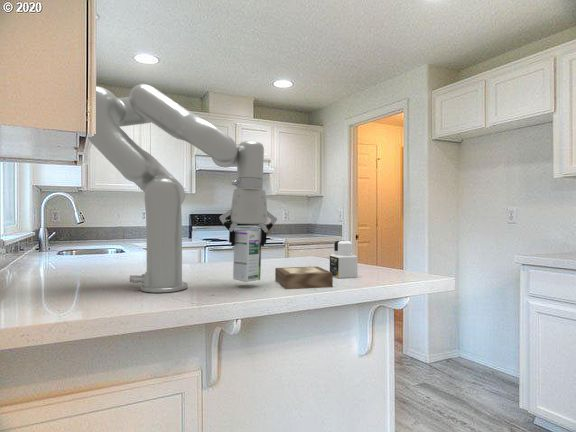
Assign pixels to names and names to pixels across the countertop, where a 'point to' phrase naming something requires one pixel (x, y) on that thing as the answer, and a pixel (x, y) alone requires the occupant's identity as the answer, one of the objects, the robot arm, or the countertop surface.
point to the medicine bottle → (343, 260)
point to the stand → (303, 277)
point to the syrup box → (247, 255)
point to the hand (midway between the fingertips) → (247, 245)
